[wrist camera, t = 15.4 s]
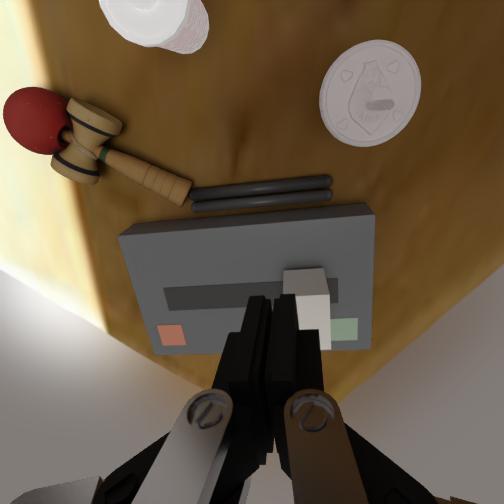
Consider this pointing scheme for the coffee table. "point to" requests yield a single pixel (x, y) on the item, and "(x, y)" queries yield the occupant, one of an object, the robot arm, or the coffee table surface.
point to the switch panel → (250, 263)
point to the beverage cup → (159, 22)
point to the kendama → (81, 141)
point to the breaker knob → (311, 301)
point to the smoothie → (370, 93)
